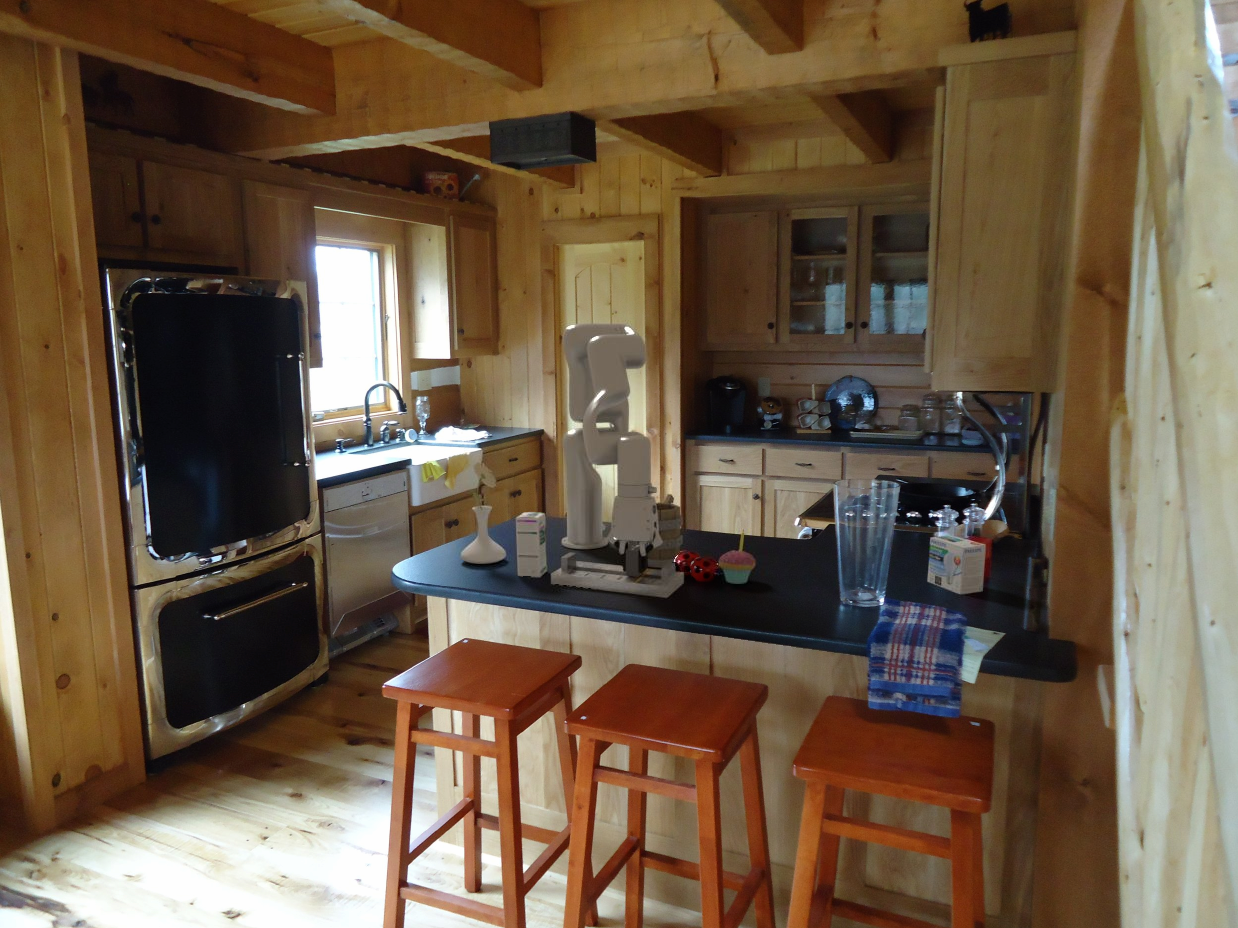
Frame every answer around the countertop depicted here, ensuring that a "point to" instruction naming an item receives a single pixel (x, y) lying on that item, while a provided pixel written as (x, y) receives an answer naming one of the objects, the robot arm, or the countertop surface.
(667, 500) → the tankard
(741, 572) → the cupcake
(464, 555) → the flower in vase
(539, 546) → the syrup box
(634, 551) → the fader
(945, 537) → the light bulb box
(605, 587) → the board
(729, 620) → the countertop surface
